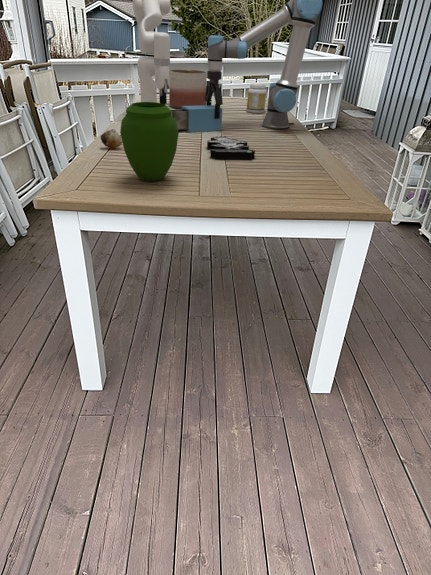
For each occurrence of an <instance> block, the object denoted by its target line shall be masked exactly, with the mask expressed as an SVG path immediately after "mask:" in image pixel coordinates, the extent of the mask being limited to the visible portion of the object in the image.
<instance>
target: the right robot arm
mask: <svg viewBox="0 0 431 575" xmlns="http://www.w3.org/2000/svg"><path fill="white" fill-rule="evenodd" d="M322 8H323V0H289V1H288V2H286V3H284V4H283V5H282V8H281V9H279V10H278V11H276V12H274V13H273V14H272V15H269V16H268V17H266V18H265V19H263V20H262V21H260V22H259V23H257V24H256V25H254V26H252V27H251V28H250V29H248V30H246V31H245V32H243V33H241V34H239V35H238V36H237V37H235V38H233V39H231V40H225V39H224V36H223V35H214V34H213V35H209V36H208V38H207V40H208V42H207V44H208V45H207V63H206V66H207V71H206V72H207V79H208V80H207V82H206V92H205V100H206V105H212V102H213V101H212V98H213V96H214V101H215V104H214V105H215V116H214V119H220V108H221V106H222V105H223V90H222V88H223V83H220V80H222V76H223V75H222V74H223V72H222V70H223V59H235V60H245V59H246V58H247V53H248V52H247V51H248V50H249V49H250V48H252V47H253V46H255V45H257V44H259V43H260V42H261V41H264V40H265V39H266V38H268V37H270V36H271V35H273V34H274V33H276V32H278V31H280V30H281V29H283V28H285V27H286V26H288V25H293V26H292V30H291V32H290V33H291V34H290V38H289V42H288V46H287V49H286V54H285V57H284V62H283V66H282V70H281V74H280V78H279V79H278V80H277V81H276V82H271V83H270V84H269V88H268V98H267V107H266V108H267V109H266V114H265V117H263V121H262V127H263V128H266V129H272V130H287V129H289V127H290V125H294V124H295V122H289V116H288V112H290V111H292V110H293V109H294V108H295V106H296V103H297V93H298V89H299V85H298V83H297V81H298V77H299V73H300V70H301V67H302V62H303V59H304V55H305V51H306V49H307V48H306V47H307V44H308V40H309V36H310V33H311V30H312V28H314V27H315V25H316V23H317V19H318V16H319V15H320V13H321V12H322Z"/></svg>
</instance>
